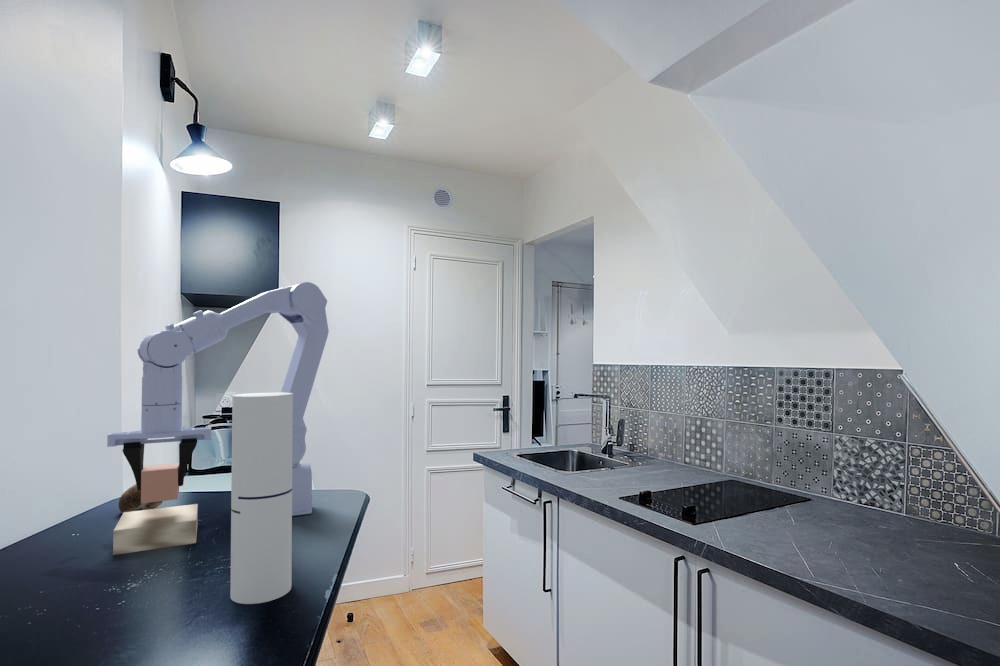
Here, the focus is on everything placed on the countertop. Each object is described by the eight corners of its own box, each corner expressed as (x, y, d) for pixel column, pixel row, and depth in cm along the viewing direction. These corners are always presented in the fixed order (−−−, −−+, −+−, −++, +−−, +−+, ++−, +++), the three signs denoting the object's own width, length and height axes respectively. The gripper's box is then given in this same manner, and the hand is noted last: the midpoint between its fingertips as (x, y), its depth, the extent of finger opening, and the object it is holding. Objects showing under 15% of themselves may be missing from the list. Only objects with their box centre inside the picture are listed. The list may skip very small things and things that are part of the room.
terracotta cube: (179, 492, 94) (179, 462, 94) (177, 499, 89) (177, 468, 90) (144, 496, 91) (144, 465, 92) (140, 503, 87) (141, 471, 87)
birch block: (197, 526, 98) (197, 503, 98) (196, 545, 88) (196, 520, 88) (123, 536, 93) (123, 512, 93) (112, 557, 83) (113, 530, 83)
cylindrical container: (269, 606, 66) (271, 396, 67) (217, 601, 67) (219, 396, 68) (302, 581, 73) (303, 392, 74) (254, 577, 74) (256, 392, 75)
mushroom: (180, 489, 110) (158, 466, 108) (153, 515, 102) (129, 491, 101) (153, 505, 112) (131, 483, 110) (125, 532, 104) (101, 509, 103)
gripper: (104, 408, 84) (102, 497, 84) (211, 404, 91) (210, 486, 90) (112, 404, 91) (110, 487, 90) (211, 400, 97) (210, 478, 97)
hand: (160, 486), depth 91 cm, fingers closed on terracotta cube, 5 cm apart
